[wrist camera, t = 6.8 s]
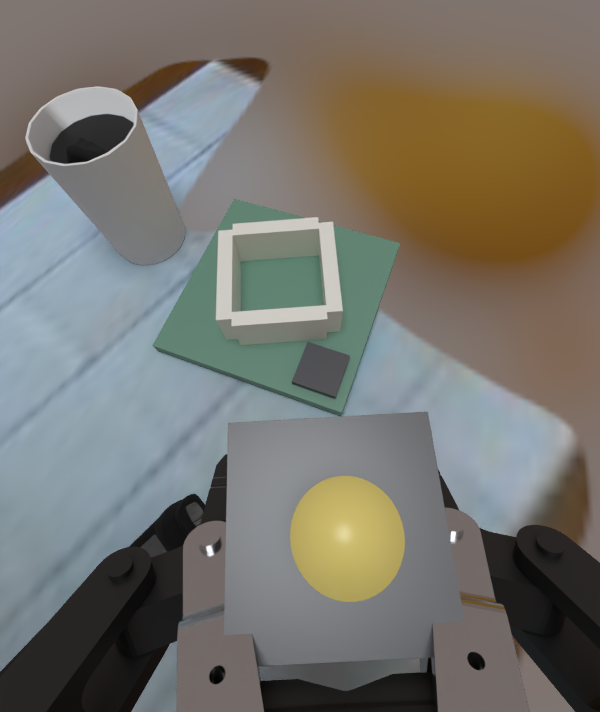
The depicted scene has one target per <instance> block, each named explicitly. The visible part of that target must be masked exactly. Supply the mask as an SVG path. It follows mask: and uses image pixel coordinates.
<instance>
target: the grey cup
mask: <svg viewBox="0 0 600 712" xmlns="http://www.w3.org/2000/svg"><path fill="white" fill-rule="evenodd" d="M25 139H26V141H27V144H28V147H29V150H30V152H31V153H32V155H33V156H34V157H35V158H36V159H37V160H38V161H39V162H40V164H41V165H42V166H43V167H44V168H45V169H46V170H47V172H48V173H49V174H50V175H51V176H52V177H53V178H54V180H55V181H56V182H57V183H58V184H59V185H60V186H61V187H62V189H63V190H64V191H65V192H66V193H67V194H68V195H69V197H70V198H71V199H72V200H73V201H74V202H75V203H76V204H77V206H78V207H79V208H80V209H81V210H82V211H83V212H84V214H85V215H86V216H87V217H88V218H89V219H90V220H91V222H92V223H93V224H94V225H95V226H96V227H97V228H98V229H99V231H100V232H101V233H102V234H103V235H104V236H105V237H106V239H107V240H108V241H109V242H110V243H111V244H112V245H113V246H114V248H115V249H116V250H117V251H118V252H119V253H120V254H121V256H123V257H124V258H125V259H127V260H128V261H129V262H131V263H135V264H139V265H150V264H157V263H159V262H162V261H164V260H166V259H168V258H170V257H171V256H172V255H173V254H174V253H175V252H177V251H178V250H179V249H180V247H181V245H182V243H183V241H184V239H185V226H184V223H183V221H182V218H181V216H180V213H179V211H178V208H177V206H176V204H175V201H174V199H173V196H172V194H171V191H170V189H169V186H168V184H167V181H166V179H165V177H164V174H163V172H162V169H161V167H160V164H159V162H158V159H157V157H156V154H155V152H154V149H153V147H152V145H151V142H150V140H149V137H148V135H147V132H146V130H145V127H144V125H143V122H142V120H141V118H140V115H139V113H138V110H137V108H136V107H135V105H134V103H133V101H132V99H131V98H130V97H129V96H127V95H125V94H124V93H122V92H120V91H119V90H117V89H111V88H105V87H99V86H97V87H89V88H80V89H76V90H73V91H71V92H68V93H65V94H62V95H60V96H57V97H56V98H54V99H53V100H51V101H50V102H49V103H47V104H46V105H45V106H43V107H41V108H40V109H39V111H38V112H37V113H36V114H35V116H34V117H33V118H32V120H31V121H30V122H29V125H28V129H27V134H26V138H25Z"/></svg>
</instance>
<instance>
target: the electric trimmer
mask: <svg viewBox="0 0 600 712" xmlns="http://www.w3.org/2000/svg"><path fill="white" fill-rule="evenodd" d="M204 508H205V504H204V503H203V502H202V500H201V499H200V498H199V497H198V496H197V495H195V494H191V495H189V496H187V497H185V498H184V499H183V500H180V501H178V502H176V503H174V504H172V505H171V506H169V507H168V508H167V509H166V510H165V511H164V512H163V513H162V515H161V516H160V517H159V518H158V519H157V520H156V521H155V522H154V523H153V524H152V525H151V526H150V527H149V528H148V529H147V530H146V531H145V532H144V533H143V534H142V535H141V536H140V537H139V538H137V539H136V540H135V541H134V542H133V543H132V544H131V545H130V546H129V547H140V548H143V549H145V550H146V551H147V552H148V553H149V555H150V557H154V556H157V555H160V554H163V553H166V552H169V551H172V550H174V549H177V548H178V547H180V546H182V545H184V542H185V540H186V538H187V536H188V535H189V534H190V532H191V531H192V530H194V529H195V528H196V527H198V526H199V525H200V522H201V519H202V515H203V512H204ZM43 628H44V627H43ZM43 628H42V629H43ZM42 629H41V630H42ZM41 630H40V631H41ZM40 631H39V632H40ZM39 632H38V633H39ZM38 633H37V634H38ZM37 634H36V635H35V636H34V637H33V639H34V638H35V637H36V636H37ZM33 639H32V640H33ZM32 640H31V641H32ZM31 641H30V642H31ZM30 642H29V643H28V644H27V645H26V646H25V647H24V648H23V649H22V650H21V651H20V652H19V653H18V654H17V655H16V656H15V657H14V658H13V659H12V660H11V661H10V662H9V663H8V664H7V665H6V667H5V668H4V669H3V670H2V671H1V672H0V677H1V675H2V674H3V673H4V672H5V671H6V670H7V669H8V667H9V666H10V665H11V664H12V663H13V662H14V661H15V659H16V658H17V657H18V656H19V655H20V654H21V653H22V652H23V650H24V649H25V648H26V647H27V646H28V645H29V644H30Z"/></svg>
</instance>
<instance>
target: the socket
mask: <svg viewBox="0 0 600 712" xmlns="http://www.w3.org/2000/svg"><path fill="white" fill-rule="evenodd" d="M318 255H319V260H320V271H321V282H322V293H323V304H324V305H320V306H307V307H293V308H279V309H265V310H252V311H241V261H252V260H265V259H278V258H292V257H305V256H318ZM342 314H343V308H342V299H341V290H340V281H339V272H338V263H337V254H336V245H335V236H334V227H333V222H323V223H318V217H314V218H301V219H288V220H275V221H263V222H250V223H237V224H233V230H220V231H218V260H217V295H216V321H217V323H218V325H219V327H220V329H221V331H222V332H223V334H224V336H225V338H226V340H229V339H238V341H239V343H240V345H250V344H264V343H278V342H292V341H306V340H321V339H327V332H340V331H341V322H342Z"/></svg>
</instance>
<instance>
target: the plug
mask: <svg viewBox="0 0 600 712" xmlns="http://www.w3.org/2000/svg"><path fill="white" fill-rule="evenodd" d="M461 621H464V615H463V609H462V604H461V598H460V592H459V587H458V581H457V575H456V570H455V564H454V558H453V553H452V547H451V541H450V536H449V530H448V524H447V519H446V513H445V507H444V502H443V496H442V490H441V485H440V479H439V473H438V468H437V462H436V456H435V451H434V445H433V439H432V434H431V428H430V422H429V417H428V412H414V413H396V414H379V415H361V416H343V417H325V418H307V419H290V420H272V421H254V422H236V423H228V454H227V504H226V554H225V605H224V635H237V634H252V638H253V644H254V650H255V656H256V663H257V666H270V665H290V664H311V663H331V662H351V661H371V660H392V659H412V658H432V656H433V623H444V622H461Z"/></svg>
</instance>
